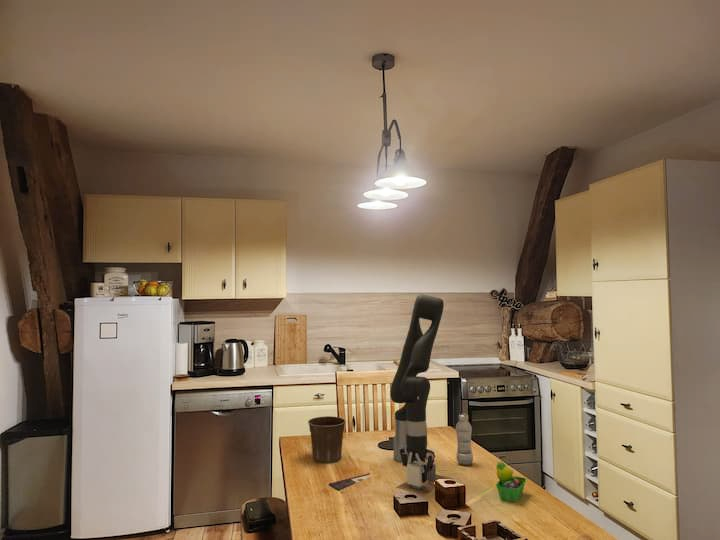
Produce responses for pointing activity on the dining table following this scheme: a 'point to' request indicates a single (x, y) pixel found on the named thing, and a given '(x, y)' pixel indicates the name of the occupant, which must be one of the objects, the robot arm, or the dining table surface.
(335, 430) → the plant pot
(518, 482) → the fruit basket
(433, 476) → the charcoal post
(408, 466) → the cream block
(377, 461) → the dining table surface
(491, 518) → the dining table surface
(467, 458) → the plastic bottle
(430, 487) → the stand board
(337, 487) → the chocolate bar
